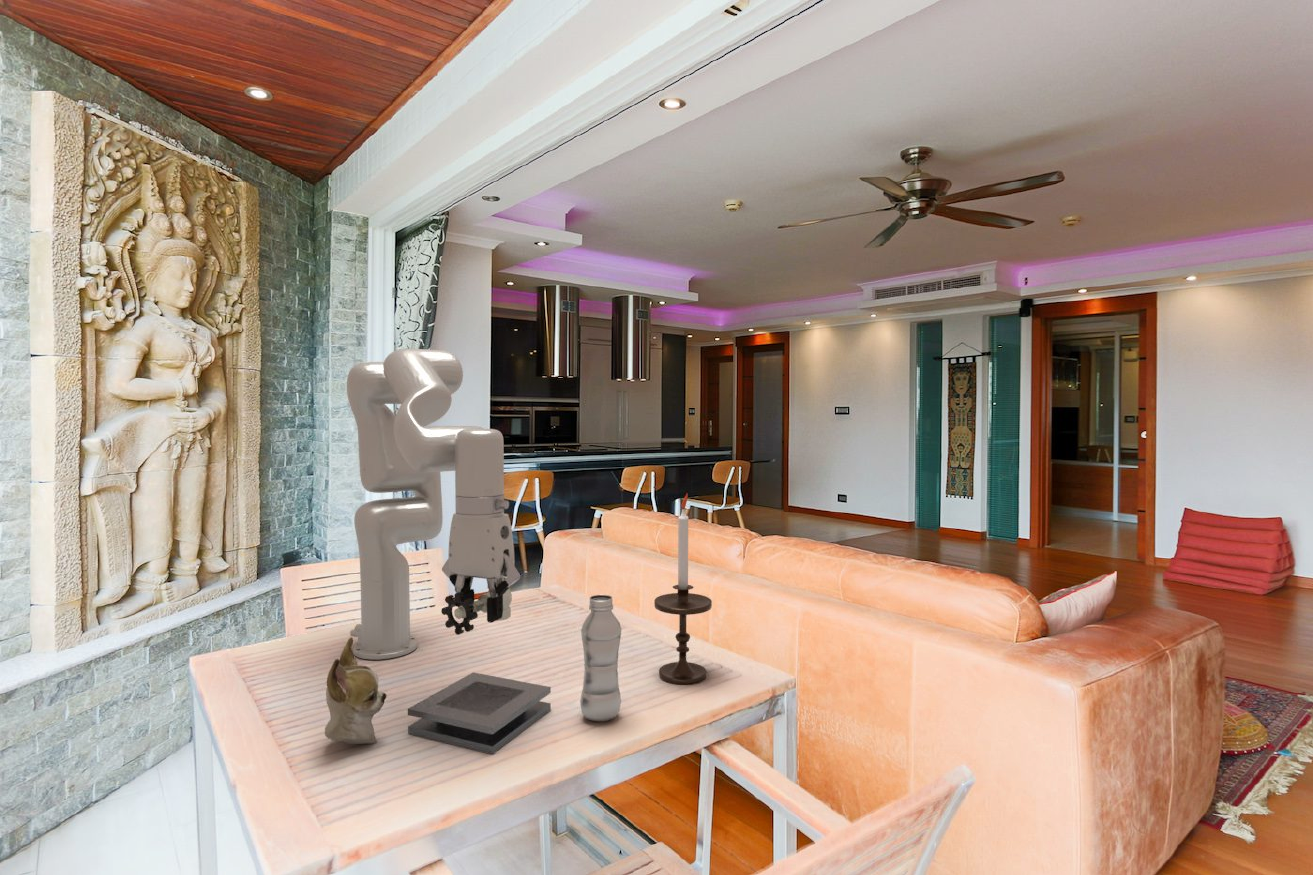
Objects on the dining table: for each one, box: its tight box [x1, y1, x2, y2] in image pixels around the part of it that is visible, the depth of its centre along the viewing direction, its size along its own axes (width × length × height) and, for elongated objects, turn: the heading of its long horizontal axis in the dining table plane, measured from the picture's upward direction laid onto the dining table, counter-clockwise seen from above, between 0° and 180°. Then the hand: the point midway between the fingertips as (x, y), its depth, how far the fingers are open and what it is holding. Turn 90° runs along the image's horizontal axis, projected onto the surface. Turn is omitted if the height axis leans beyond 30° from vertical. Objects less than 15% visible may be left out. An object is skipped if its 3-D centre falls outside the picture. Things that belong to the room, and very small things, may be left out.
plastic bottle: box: [579, 594, 622, 722], centre depth 113 cm, size 6×7×20 cm
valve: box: [440, 575, 513, 636], centre depth 112 cm, size 7×7×12 cm
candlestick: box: [653, 493, 713, 686], centre depth 130 cm, size 11×11×35 cm
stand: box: [407, 671, 552, 755], centre depth 112 cm, size 16×16×4 cm
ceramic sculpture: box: [324, 636, 387, 745], centre depth 104 cm, size 11×9×15 cm
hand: (480, 616), depth 111 cm, fingers closed on valve, 4 cm apart
